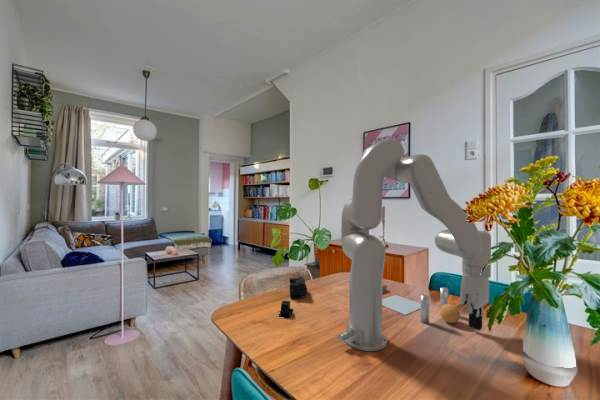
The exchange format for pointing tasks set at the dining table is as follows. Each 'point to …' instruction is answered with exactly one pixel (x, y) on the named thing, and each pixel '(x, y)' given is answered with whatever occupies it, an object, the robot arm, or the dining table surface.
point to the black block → (286, 310)
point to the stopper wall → (384, 287)
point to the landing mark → (401, 304)
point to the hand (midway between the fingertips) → (475, 327)
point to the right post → (443, 296)
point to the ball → (449, 313)
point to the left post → (425, 309)
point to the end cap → (297, 288)
